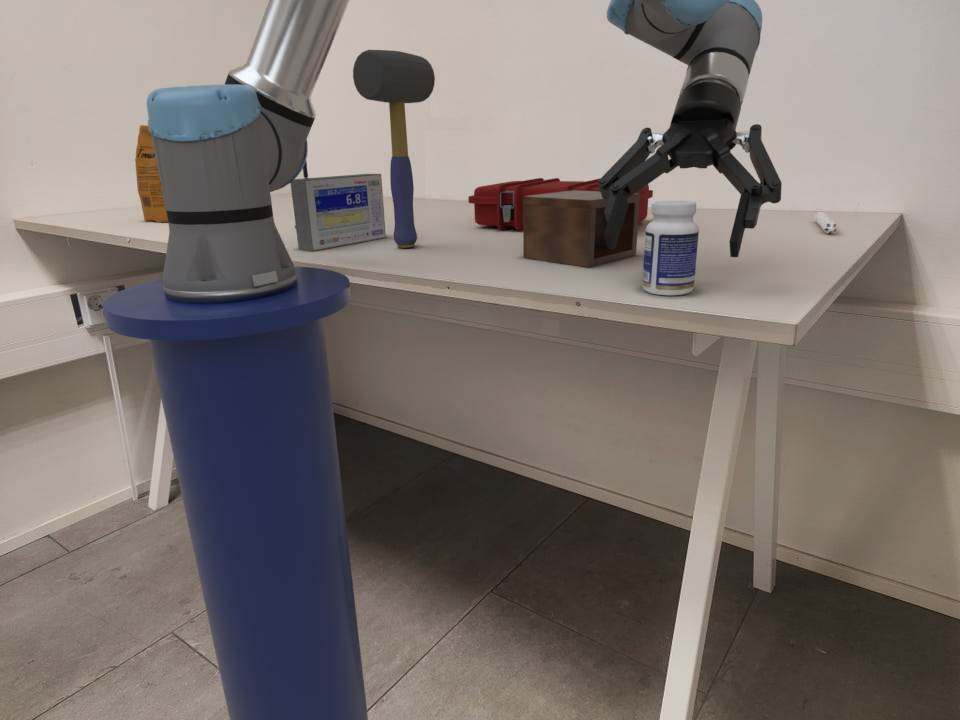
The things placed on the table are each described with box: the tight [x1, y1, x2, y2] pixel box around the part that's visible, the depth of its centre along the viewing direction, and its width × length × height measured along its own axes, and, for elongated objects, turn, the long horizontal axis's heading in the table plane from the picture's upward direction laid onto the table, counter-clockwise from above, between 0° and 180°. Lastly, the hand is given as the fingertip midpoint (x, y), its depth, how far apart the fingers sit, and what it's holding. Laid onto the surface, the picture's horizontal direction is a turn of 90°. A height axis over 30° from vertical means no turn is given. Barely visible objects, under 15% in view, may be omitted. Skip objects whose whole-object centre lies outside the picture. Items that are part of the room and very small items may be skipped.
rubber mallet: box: [352, 49, 436, 249], centre depth 100 cm, size 12×8×30 cm, turn 145°
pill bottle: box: [641, 200, 700, 296], centre depth 70 cm, size 6×6×10 cm
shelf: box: [522, 190, 640, 268], centre depth 91 cm, size 12×12×9 cm
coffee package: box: [134, 124, 168, 223], centre depth 148 cm, size 10×12×22 cm
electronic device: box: [290, 160, 387, 252], centre depth 108 cm, size 17×7×20 cm, turn 143°
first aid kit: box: [467, 177, 654, 232], centre depth 125 cm, size 32×23×9 cm
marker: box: [814, 211, 838, 235], centre depth 113 cm, size 18×2×2 cm, turn 158°
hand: (668, 246), depth 68 cm, fingers open, 13 cm apart
